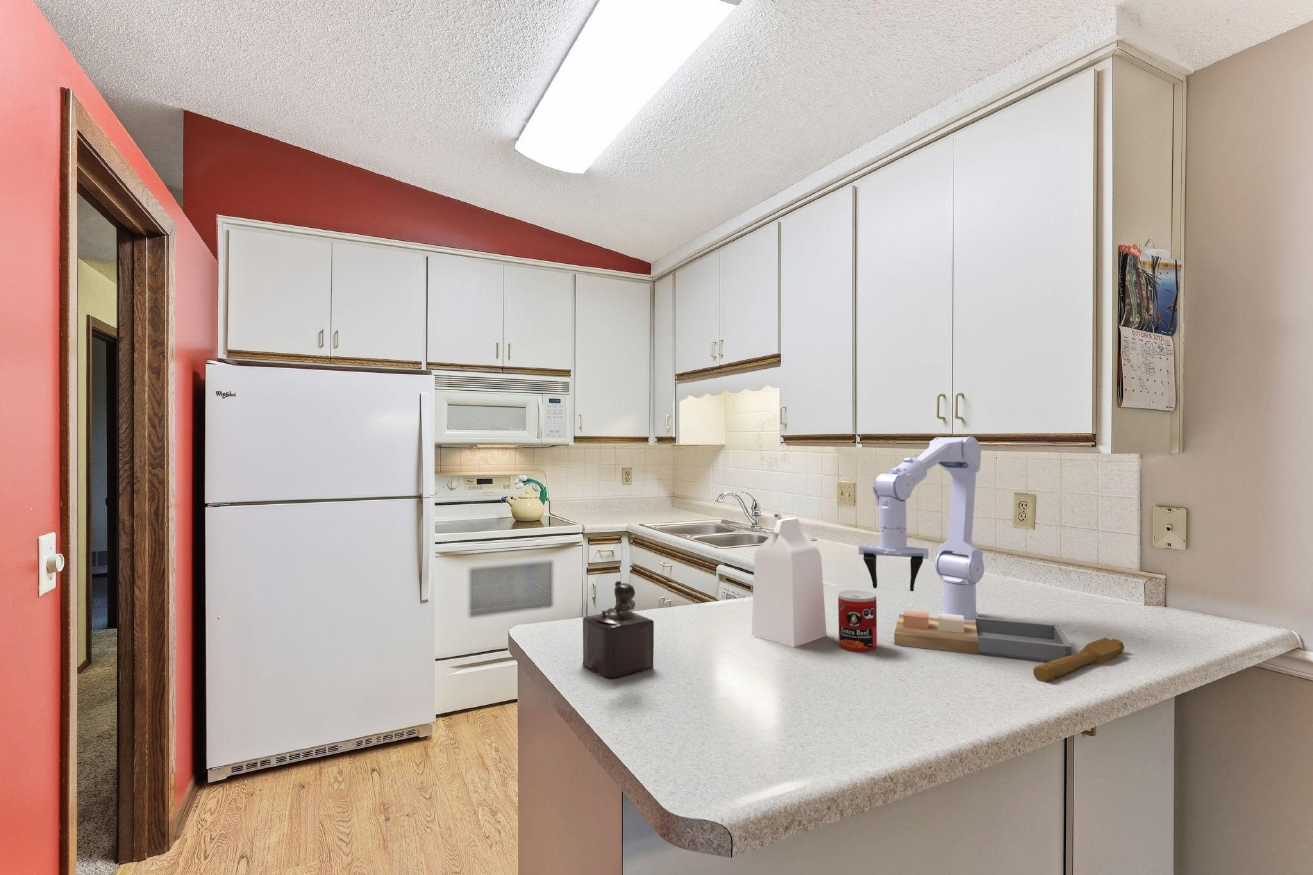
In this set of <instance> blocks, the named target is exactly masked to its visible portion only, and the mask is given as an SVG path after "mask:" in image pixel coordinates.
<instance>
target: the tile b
mask: <svg viewBox="0 0 1313 875" xmlns="http://www.w3.org/2000/svg"><path fill="white" fill-rule="evenodd" d="M937 616H938V617H937V618H938V631H948V632H958V633H964V616H963V615H954V614H943V613H942V612H940V613H938V614H937Z"/></svg>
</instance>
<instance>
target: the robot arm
mask: <svg viewBox="0 0 1313 875" xmlns="http://www.w3.org/2000/svg"><path fill="white" fill-rule="evenodd" d="M981 458H982V447H981V445H980V444H979V442H978V440H977V439H976V438H975V437H974V436H967V437H966V436H965V437H963V436H959V437H958V436H957V437H955V436H954V437H952V436H950V437H941V436H937V437H935V438H933V439H932V440H930V441H929V445H928V447H927V448H926V449H925V450H924V451H923V452H922V453H921V454H920V455H919V456H918V457H917V458H915V457H905V458H904V459H903V462H901V463H900V464H899V465H897V466H896V467H893V468H892V469H891V471H889V472H887V473H881V474H879V475H878V476H877V477H876V478H875V480H874V482H873V486H872V492H873V495H874V497H875V500H876V505H877V507H878V542H879V544H878V545H877V544H875V545H874V544H867V545H866V544H859V545H858V548H857V549H858V555H859V556H860V555H862V556H863V557H862V558H863V562H864V563H865V566H866V568H867V570H868V573H869V576H870V579H871V582H872V583H871V584H872V588H873V589H877V588H878V576H877V560H878V559H877V556H883V557H884V556H885V557H889V556H890V557H898V558H899V557H904V558H910V582H909V592H914V590H915V583H916V579H917V577H918V573H919V571H920V569H921V566H922V565H923V561H924V559H927V560H929V548H925V547H924V548H922V547H913V546H907V500H908V499H910V498H911V495H912V492H913V490H914V489H915V487H916V486H918V484H920V483H921V482H922V481H924V480H925V479H926V477H927V475H928V470H931V469H932V468H933V467H935V466H937V465H939V466H940V467H941V468H942V469H943V470H944V471H946V472H949V474H950V475H951V476H952V483H951V496H950V508H949V525H948V539H947V540H946V541H944V542H942V543H941V544H940V545H939V546H938V551H937V555H936V557H935V560H934V569H935V571H936V574H937V576H939V579H940V581H941V580H942V592H943V594H942V598H943V606H942V607H943V608H941V613H943V614H954V615H963V616H964V621H974V622H975V617H979V615H978V611H977V586H976V585H977V584H978V583H979V582H980V581H981V579H982V578H983V577H984V572H985V565H984V559H983V557H984V556H983V551H982V550H981V549H980V548H979V547H978V546H977V545H975V544H974V542H972V540H973V530H974V529H973V527H974V526H973V525H974V513H975V512H974V511H975V498H976V483H977V482H976V481H977V473H978V472H980V468H981ZM957 552H958V553H957ZM961 553H963V554H961Z"/></svg>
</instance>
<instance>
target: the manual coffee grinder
mask: <svg viewBox="0 0 1313 875" xmlns="http://www.w3.org/2000/svg"><path fill="white" fill-rule="evenodd" d="M614 586H615V587H614V589H613V592H614V597H615V606H614V607H609V608H608V609H606V610H601V613H599V614H594V615H589V616H588V615H587V616H583V618H582V655H583V656H582V665H583V666H584V665H585V666H584V667H586V668H587V669H589V670H590V671H591V672H594V673H595V674H598V675H600V676H603V677H605V678H608V679H616V678H623V677H628V676H631V675H635V673H636V674H638V673H637V672H640V673H642V671H643V672H645V671H644V670H646V671H649V670H652V669H653V668H654V646H655V645H654V644H655V640H654V639H655V638H654V637H655V633H654V632H655V631H654V630H655V629H654V627H655V626H654V625H655V624H654V622H655V620H652V619H651V618H648V617H646V616H643V615H640V614H638V613H636V612H633V611H631V610H633V609H636V603H635V600H633V598H634V597H635V596H636V591H635V588H634V586H633V585H631V584H629V583H626V582H625V583H623V582H622V581H620V580H617V581H616V582H615V583H614ZM651 668H652V669H651ZM648 669H649V670H648Z"/></svg>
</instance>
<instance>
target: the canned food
mask: <svg viewBox="0 0 1313 875" xmlns="http://www.w3.org/2000/svg"><path fill="white" fill-rule="evenodd" d="M837 597H838V598H837V604H838V610H837V611H838V644H839V646H840V647H841V648H842V649H843V650H846V651H850V652H858V653H865V652H871V651H872V652H873V651H874V650H875V649H876V648H877V644H878V638H877V637H878V636H877V635H878V634H877V633H878V632H877V631H878V626H877V624H878V623H877V611H878V610H877V609H878V608H877V606H878V605H877V594H875V593H874V592H872V591H871V592H870V591H866V590H859V589H849V590H842V591H839V592H838V596H837Z"/></svg>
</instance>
